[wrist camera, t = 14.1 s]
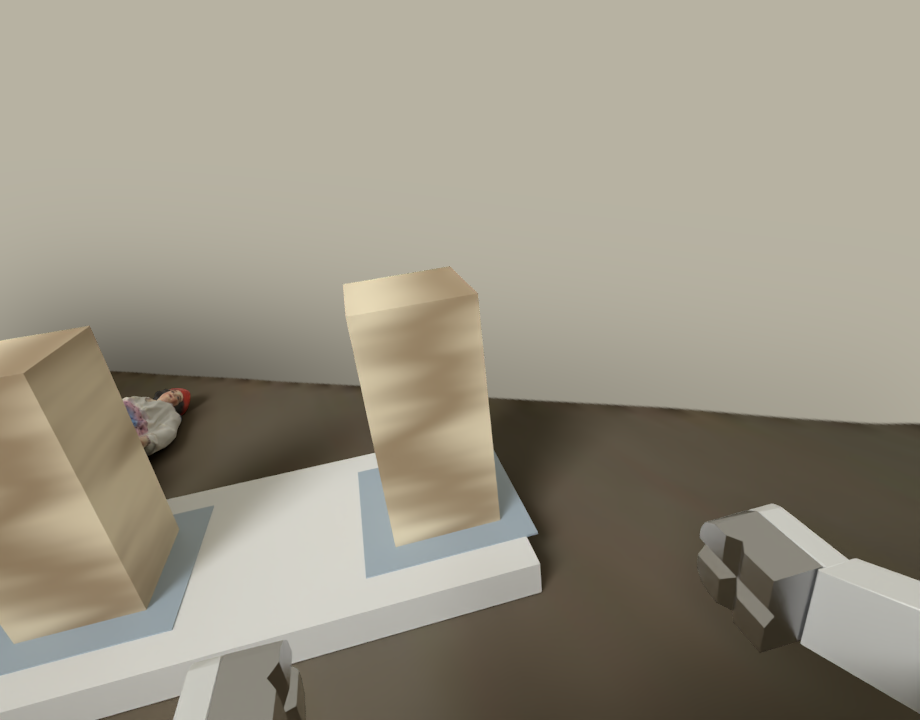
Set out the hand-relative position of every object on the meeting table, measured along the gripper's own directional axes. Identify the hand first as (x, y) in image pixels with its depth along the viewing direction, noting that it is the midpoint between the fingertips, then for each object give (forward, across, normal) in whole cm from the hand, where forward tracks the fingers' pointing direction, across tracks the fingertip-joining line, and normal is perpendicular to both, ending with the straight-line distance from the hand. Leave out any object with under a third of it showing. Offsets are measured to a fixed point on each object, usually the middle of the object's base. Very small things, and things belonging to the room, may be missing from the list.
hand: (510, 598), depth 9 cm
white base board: (+12, -7, -8) cm, 16 cm away
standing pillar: (+12, -14, -7) cm, 20 cm away
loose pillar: (+12, 0, -7) cm, 14 cm away
